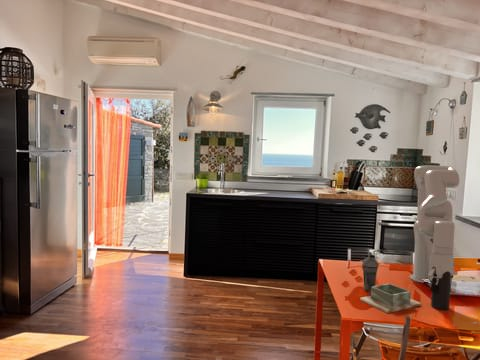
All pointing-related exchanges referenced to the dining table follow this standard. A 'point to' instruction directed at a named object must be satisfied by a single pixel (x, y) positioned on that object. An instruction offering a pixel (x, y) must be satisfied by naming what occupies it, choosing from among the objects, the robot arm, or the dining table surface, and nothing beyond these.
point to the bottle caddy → (390, 298)
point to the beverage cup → (369, 272)
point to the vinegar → (442, 293)
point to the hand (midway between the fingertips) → (440, 291)
